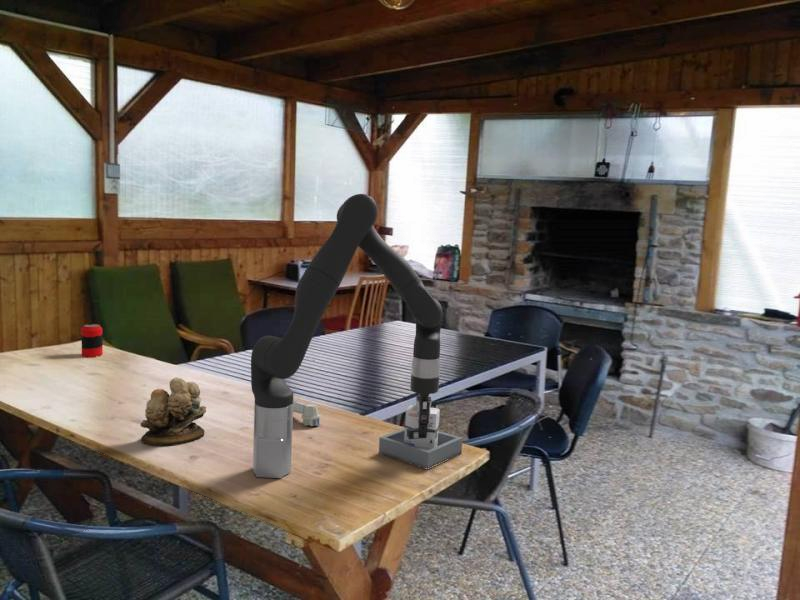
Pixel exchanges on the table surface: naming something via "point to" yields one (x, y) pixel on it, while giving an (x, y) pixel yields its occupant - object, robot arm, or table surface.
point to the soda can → (92, 340)
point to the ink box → (413, 428)
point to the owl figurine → (173, 415)
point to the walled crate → (399, 450)
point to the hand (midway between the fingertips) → (421, 432)
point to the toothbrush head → (307, 413)
